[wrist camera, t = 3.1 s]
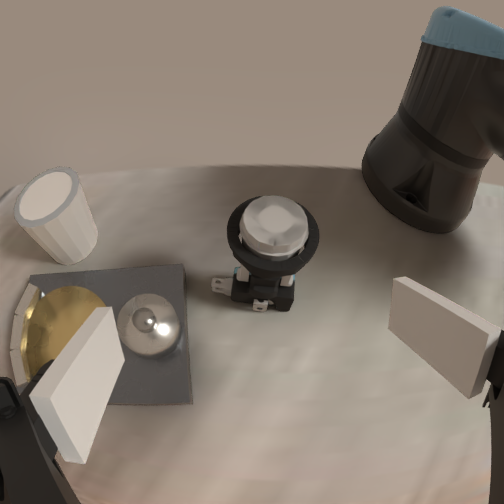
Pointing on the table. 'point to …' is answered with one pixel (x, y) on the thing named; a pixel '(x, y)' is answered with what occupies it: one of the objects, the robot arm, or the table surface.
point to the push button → (268, 251)
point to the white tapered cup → (57, 215)
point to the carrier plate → (127, 323)
